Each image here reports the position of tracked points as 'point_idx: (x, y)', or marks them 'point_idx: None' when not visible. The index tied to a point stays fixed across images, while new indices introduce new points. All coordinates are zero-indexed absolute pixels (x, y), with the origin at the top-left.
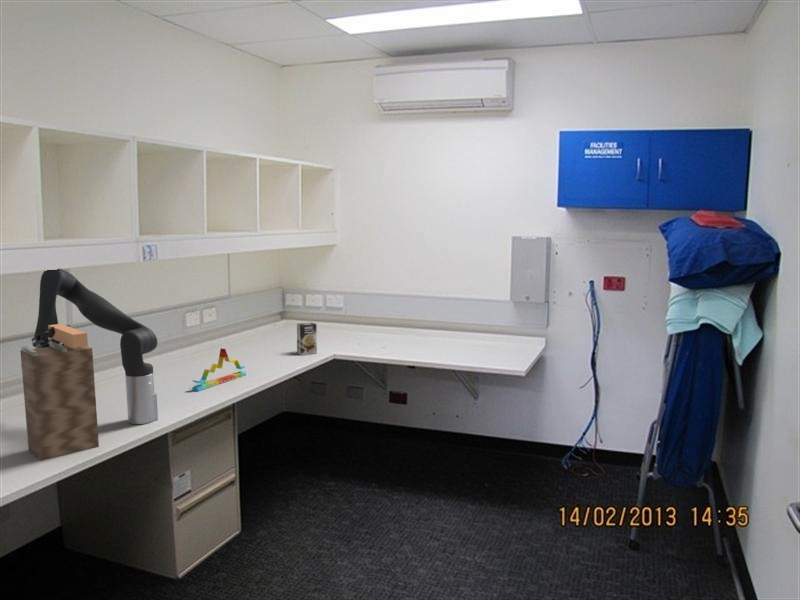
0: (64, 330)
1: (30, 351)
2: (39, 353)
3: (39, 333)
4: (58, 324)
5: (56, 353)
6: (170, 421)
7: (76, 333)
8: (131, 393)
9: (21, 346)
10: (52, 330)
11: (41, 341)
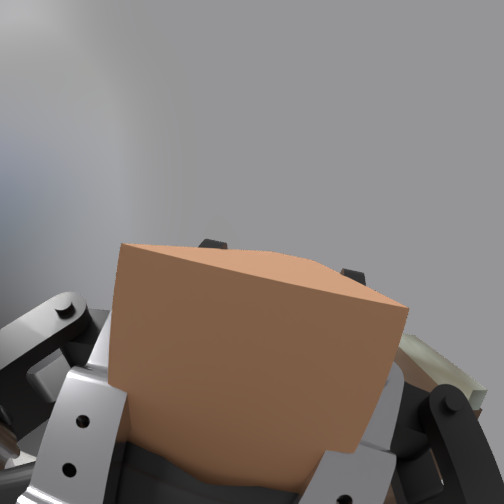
0: (312, 262)
1: (422, 341)
2: (395, 356)
3: (469, 406)
4: (211, 259)
5: None
6: None
7: (298, 257)
8: (8, 467)
9: (486, 389)
10: None
11: (408, 486)
